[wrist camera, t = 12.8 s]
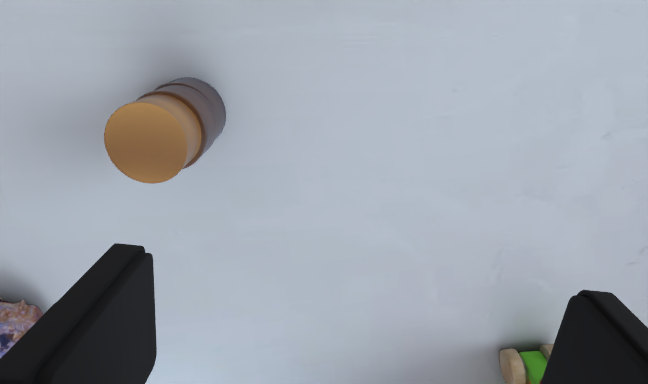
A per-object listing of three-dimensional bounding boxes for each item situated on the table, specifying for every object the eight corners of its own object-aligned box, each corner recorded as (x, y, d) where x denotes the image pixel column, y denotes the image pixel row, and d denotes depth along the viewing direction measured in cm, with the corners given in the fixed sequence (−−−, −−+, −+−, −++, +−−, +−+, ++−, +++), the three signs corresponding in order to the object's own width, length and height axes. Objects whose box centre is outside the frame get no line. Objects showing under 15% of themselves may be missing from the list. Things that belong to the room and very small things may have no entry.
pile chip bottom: (156, 74, 36) (140, 79, 33) (226, 81, 36) (217, 87, 33) (158, 142, 38) (143, 152, 35) (225, 149, 38) (215, 160, 35)
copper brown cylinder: (123, 90, 30) (100, 97, 27) (201, 98, 30) (187, 107, 27) (128, 164, 32) (106, 179, 29) (201, 171, 32) (187, 187, 29)
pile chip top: (141, 80, 33) (122, 86, 30) (218, 88, 33) (207, 95, 30) (144, 154, 35) (127, 166, 32) (217, 161, 35) (206, 174, 32)
